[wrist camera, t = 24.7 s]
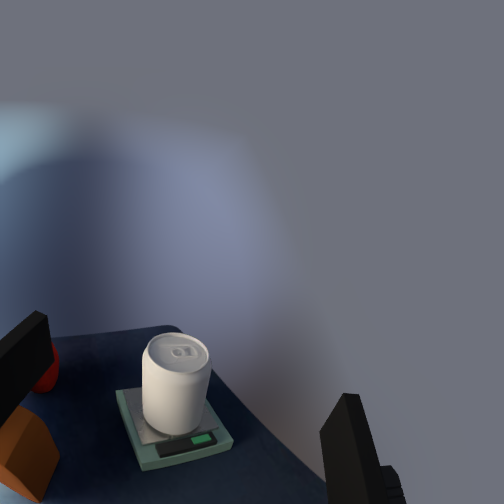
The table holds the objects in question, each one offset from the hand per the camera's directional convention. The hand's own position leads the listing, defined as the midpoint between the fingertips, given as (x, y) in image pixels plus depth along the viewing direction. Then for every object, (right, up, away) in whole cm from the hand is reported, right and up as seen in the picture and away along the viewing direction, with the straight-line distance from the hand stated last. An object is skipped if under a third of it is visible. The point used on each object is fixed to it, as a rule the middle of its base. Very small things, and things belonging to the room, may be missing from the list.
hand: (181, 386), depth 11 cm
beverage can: (-8, -17, +24) cm, 31 cm away
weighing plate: (-9, -17, +25) cm, 32 cm away
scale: (-9, -20, +25) cm, 33 cm away
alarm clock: (-32, -20, +8) cm, 39 cm away
